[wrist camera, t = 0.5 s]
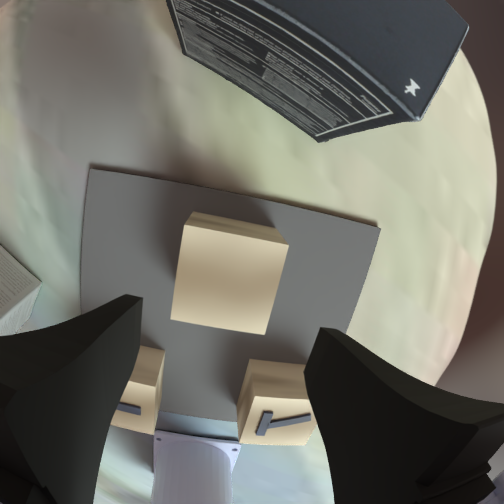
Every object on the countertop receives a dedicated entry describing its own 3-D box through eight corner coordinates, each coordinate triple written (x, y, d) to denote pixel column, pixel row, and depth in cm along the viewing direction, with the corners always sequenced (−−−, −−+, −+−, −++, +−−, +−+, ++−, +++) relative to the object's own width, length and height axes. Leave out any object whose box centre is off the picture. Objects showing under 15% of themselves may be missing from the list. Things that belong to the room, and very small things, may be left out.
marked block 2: (295, 410, 23) (305, 447, 19) (236, 406, 22) (239, 445, 18) (314, 365, 22) (330, 401, 18) (249, 358, 21) (255, 398, 17)
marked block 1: (161, 398, 21) (153, 436, 17) (102, 384, 21) (87, 419, 17) (165, 350, 20) (154, 389, 16) (99, 335, 19) (78, 369, 15)
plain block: (257, 302, 20) (264, 334, 16) (180, 289, 19) (170, 319, 15) (275, 227, 18) (289, 245, 14) (193, 211, 18) (184, 224, 14)
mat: (303, 422, 24) (304, 425, 24) (89, 389, 21) (88, 392, 21) (378, 227, 19) (381, 228, 19) (92, 168, 17) (90, 168, 16)
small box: (371, 75, 16) (478, 26, 6) (320, 146, 18) (422, 135, 8) (240, -12, 14) (255, -120, 4) (178, 54, 15) (136, -43, 5)
